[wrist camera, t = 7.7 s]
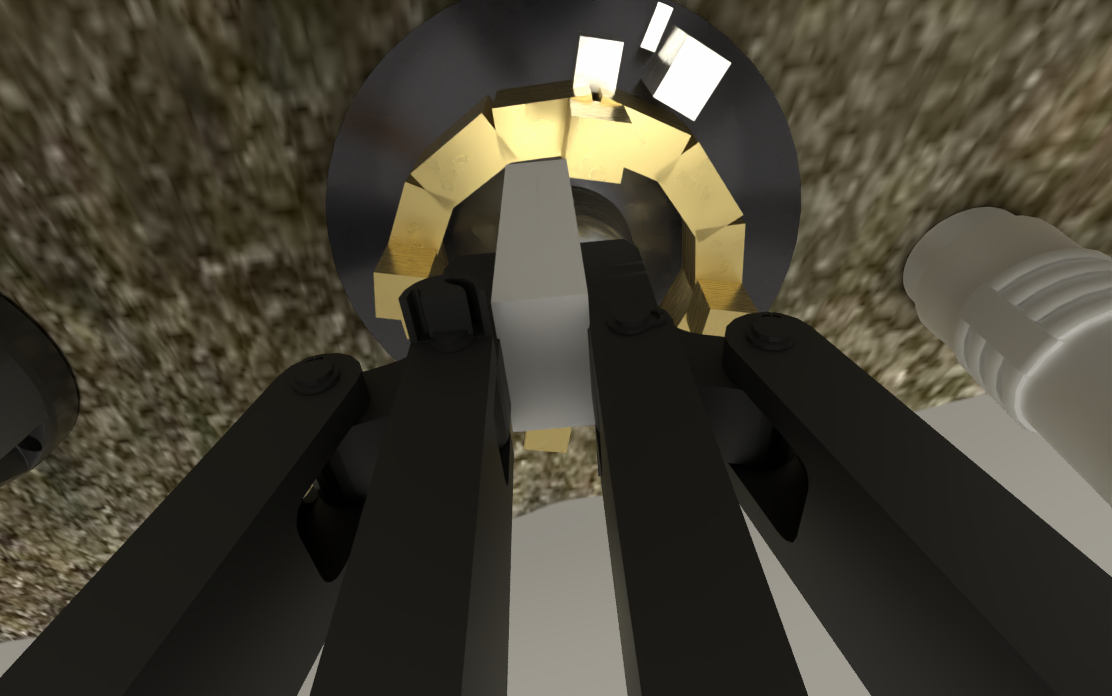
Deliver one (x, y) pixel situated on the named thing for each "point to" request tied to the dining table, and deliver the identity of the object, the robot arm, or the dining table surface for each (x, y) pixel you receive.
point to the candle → (1025, 325)
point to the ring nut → (592, 153)
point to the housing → (600, 207)
